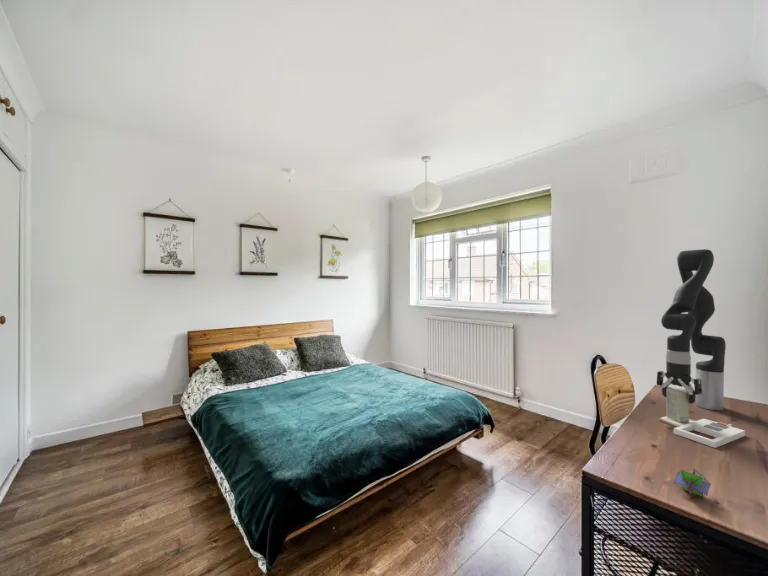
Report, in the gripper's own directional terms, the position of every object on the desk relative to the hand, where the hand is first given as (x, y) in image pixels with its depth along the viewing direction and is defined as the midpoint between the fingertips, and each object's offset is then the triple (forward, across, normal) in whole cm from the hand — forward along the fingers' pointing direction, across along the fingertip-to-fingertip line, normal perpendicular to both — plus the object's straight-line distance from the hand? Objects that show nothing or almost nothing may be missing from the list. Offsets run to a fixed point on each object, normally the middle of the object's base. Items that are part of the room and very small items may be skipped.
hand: (678, 399), depth 135 cm
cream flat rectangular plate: (+9, 0, 0) cm, 9 cm away
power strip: (+9, -11, 0) cm, 14 cm away
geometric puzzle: (+9, -27, +53) cm, 60 cm away
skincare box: (+8, 0, 0) cm, 8 cm away
